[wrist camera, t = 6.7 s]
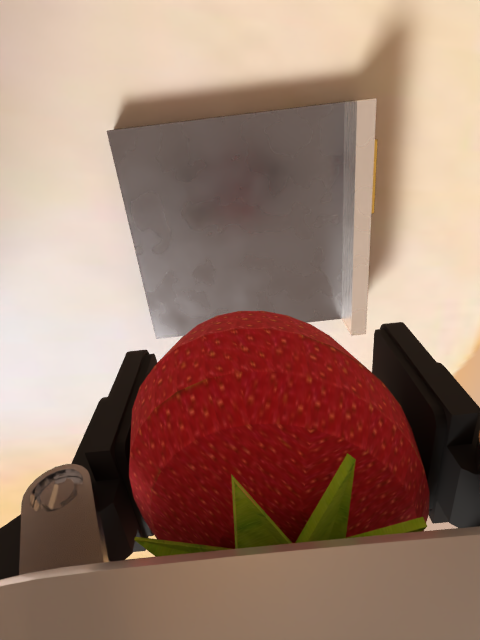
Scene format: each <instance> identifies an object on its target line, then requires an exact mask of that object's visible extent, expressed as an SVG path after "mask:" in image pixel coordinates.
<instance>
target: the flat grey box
mask: <svg viewBox="0 0 480 640" xmlns="http://www.w3.org/2000/svg"><path fill="white" fill-rule="evenodd" d="M376 102H377V98H375V99H365V100H356V101H347V102H339V103H331V104H323V105H314V106H306V107H298V108H290V109H281V110H273V111H265V112H257V113H248V114H240V115H232V116H224V117H216V118H207V119H199V120H191V121H183V122H174V123H166V124H158V125H150V126H141V127H133V128H125V129H117V130H109V131H107V134H108V138H109V142H110V146H111V151H112V155H113V159H114V163H115V167H116V172H117V176H118V180H119V184H120V188H121V193H122V197H123V201H124V205H125V209H126V214H127V218H128V222H129V226H130V230H131V235H132V239H133V243H134V247H135V252H136V256H137V260H138V264H139V268H140V273H141V277H142V281H143V285H144V289H145V294H146V298H147V302H148V306H149V310H150V315H151V319H152V323H153V327H154V331H155V336H156V339H158V338H167V337H176V336H185V335H186V334H187V333H188V332H189V331H191V330H192V329H193V328H194V327H196V326H197V325H198V324H201V323H203V322H205V321H207V320H209V319H211V318H213V317H216V316H218V315H223V314H228V313H232V312H237V311H267V312H272V313H277V314H282V315H288V316H290V317H293V318H295V319H298V320H300V321H303V322H315V321H324V320H334V319H342V320H343V322H344V324H345V325H346V327H347V329H348V331H349V333H350V334H351V335H361V334H366V322H367V300H368V278H369V256H370V234H371V213H374V202H375V181H376V161H377V139H375V124H376Z"/></svg>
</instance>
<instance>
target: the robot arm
mask: <svg viewBox="0 0 480 640" xmlns="http://www.w3.org/2000/svg"><path fill="white" fill-rule="evenodd" d="M156 364H157V360H156V357H155V355H154V354H149V353H148V351H147V350H139V351H130V352H127V353H126V356H125V358H124V360H123V363H122V365H121V367H120V370H119V372H118V374H117V377H116V379H115V382H114V384H113V386H112V389H111V391H110V393H109V396H108V397H104V398H102V399H101V400H100V401H99V403H98V405H97V408H96V410H95V412H94V414H93V416H92V419H91V421H90V423H89V425H88V428H87V430H86V432H85V434H84V437H83V439H82V441H81V443H80V446H79V448H78V450H77V452H76V455H75V457H74V459H73V461H72V464H65V465H62V466H58V467H55V468H53V469H51V470H49V471H47V472H45V473H44V474H42V475H41V476H39V477H38V478H37V479H36V480H35V481H34V482H33V483H32V484H31V485H30V486H29V487H28V489H27V490H26V492H25V494H24V496H23V500H22V506H21V515H19V516H18V517H16V518H15V519H14V520H12V521H11V522H9V523H8V524H6V525H5V526H3V527H2V528H0V640H480V408H479V406H478V405H477V404H476V403H475V402H474V401H473V399H472V398H471V397H470V396H469V395H468V394H467V392H466V391H465V390H464V389H463V388H462V387H461V386H460V384H459V383H458V382H457V381H456V380H455V379H454V377H453V376H452V375H451V374H450V372H449V371H448V370H447V369H446V368H445V367H444V366H443V365H442V364H441V363H438V362H436V361H435V360H434V359H433V358H432V356H431V355H430V354H429V353H428V352H427V350H426V349H425V348H424V347H423V346H422V344H421V343H420V342H419V341H418V340H417V338H416V337H415V336H414V335H413V334H412V332H411V331H410V330H409V329H408V328H407V327H406V325H405V324H404V323H403V322H398V323H389V324H382V325H381V328H380V329H378V330H375V333H374V348H373V366H372V373H373V374H374V375H375V376H376V377H377V378H378V379H380V380H381V381H382V382H383V383H384V384H385V386H386V387H387V388H388V390H389V391H390V392H391V393H392V395H393V396H394V397H395V399H396V400H397V401H398V403H399V404H400V405H401V407H402V409H403V411H404V414H405V416H406V418H407V420H408V422H409V424H410V426H411V428H412V431H413V435H414V438H415V441H416V444H417V447H418V451H419V454H420V457H421V460H422V463H423V466H424V470H425V474H426V479H427V483H428V488H429V492H430V493H429V516H430V519H431V521H432V523H443V522H449V523H451V524H452V525H454V526H456V527H458V528H456V529H445V530H434V531H422V532H411V533H399V534H388V535H377V536H366V537H355V538H344V539H334V540H323V541H312V542H302V543H291V544H281V545H270V546H260V547H249V548H239V549H229V550H219V551H209V552H199V553H189V554H179V555H169V556H159V557H149V558H139V559H129V560H125V559H126V558H127V557H128V556H130V555H131V554H132V553H133V552H137V551H146V549H145V548H144V547H143V546H141V545H140V544H139V543H138V542H136V541H135V540H134V539H135V537H142V538H148V536H153V535H154V534H153V532H152V531H151V529H150V528H149V526H148V525H147V523H146V522H145V520H144V519H143V516H142V514H141V512H140V510H139V508H138V506H137V504H136V502H135V500H134V497H133V492H132V488H131V483H130V478H129V462H130V440H131V421H132V408H133V405H134V402H135V400H136V397H137V394H138V391H139V388H140V386H141V384H142V383H143V382H144V380H145V379H146V377H147V376H148V375H149V373H150V372H151V370H152V369H153V368H154V366H155V365H156Z"/></svg>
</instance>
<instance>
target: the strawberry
mask: <svg viewBox="0 0 480 640" xmlns="http://www.w3.org/2000/svg"><path fill="white" fill-rule="evenodd" d="M129 478H130V483H131V488H132V492H133V497H134V500H135V502H136V504H137V506H138V508H139V510H140V512H141V514H142V516H143V519H144V520H145V522H146V523H147V525H148V526H149V528H150V529H151V531H152V532H153V534H154V535H155V537H156V538H157V539H150V538H142V537H135V539H134V540H135V541H136V542H138V543H139V544H140V545H141V546H143V547H144V548H145V549H147V550H148V551H149V552H151V553H152V554H153V555H155V556H156V557H159V556H169V555H179V554H189V553H199V552H209V551H219V550H229V549H239V548H249V547H260V546H270V545H281V544H291V543H302V542H312V541H323V540H334V539H344V538H355V537H366V536H377V535H388V534H399V533H411V532H422V531H424V529H425V528H426V527H427V525H426V521H427V518H428V515H429V493H430V492H429V488H428V483H427V479H426V474H425V470H424V466H423V463H422V460H421V457H420V454H419V451H418V447H417V444H416V441H415V438H414V435H413V431H412V428H411V426H410V424H409V422H408V420H407V418H406V416H405V414H404V411H403V409H402V407H401V405H400V404H399V403H398V401H397V400H396V399H395V397H394V396H393V395H392V393H391V392H390V391H389V390H388V388H387V387H386V386H385V384H384V383H383V382H382V381H381V380H380V379H378V378H377V377H376V376H375V375H374V374H373V373H372V372H370V371H369V370H368V369H367V368H366V367H365V366H364V365H362V364H361V363H360V362H359V361H358V360H357V359H356V358H354V357H353V356H352V355H351V354H350V353H349V352H348V351H346V350H345V349H344V348H343V347H342V346H341V345H340V344H338V343H337V342H336V341H335V340H334V339H333V338H332V337H330V336H329V335H327V334H325V333H324V332H322V331H320V330H319V329H317V328H316V327H314V326H312V325H311V324H308V323H306V322H303V321H300V320H298V319H295V318H293V317H290V316H288V315H282V314H277V313H272V312H267V311H237V312H232V313H228V314H223V315H218V316H216V317H213V318H211V319H209V320H207V321H205V322H203V323H201V324H198V325H197V326H196V327H194V328H193V329H192V330H191V331H189V332H188V333H187V334H186V335H185V336H183V337H182V338H181V339H180V340H179V341H178V342H177V343H176V344H175V345H174V346H173V347H172V348H171V349H170V350H169V351H168V352H167V354H166V355H165V356H164V357H163V358H162V359H161V360H160V361H159V362H158V363H157V364H156V365H155V366H154V368H153V369H152V370H151V372H150V373H149V375H148V376H147V377H146V379H145V380H144V382H143V383H142V384H141V386H140V388H139V391H138V394H137V397H136V400H135V402H134V405H133V408H132V421H131V440H130V462H129Z"/></svg>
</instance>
